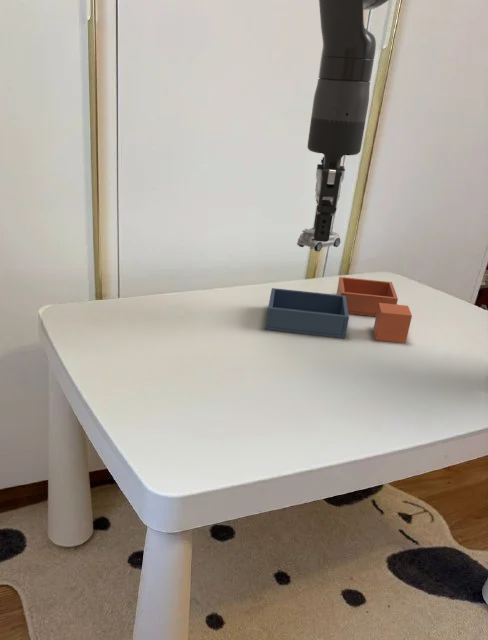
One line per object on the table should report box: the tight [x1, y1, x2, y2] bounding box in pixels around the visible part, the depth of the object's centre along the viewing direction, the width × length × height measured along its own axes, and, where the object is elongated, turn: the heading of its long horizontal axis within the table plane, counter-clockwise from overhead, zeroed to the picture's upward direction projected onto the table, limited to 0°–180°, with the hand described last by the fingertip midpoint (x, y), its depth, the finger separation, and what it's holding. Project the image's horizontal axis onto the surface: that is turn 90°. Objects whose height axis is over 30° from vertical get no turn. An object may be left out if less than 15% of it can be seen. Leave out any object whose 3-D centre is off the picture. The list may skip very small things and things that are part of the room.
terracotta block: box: [372, 303, 413, 344], centre depth 98 cm, size 4×4×4 cm
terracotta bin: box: [335, 276, 399, 318], centre depth 109 cm, size 9×9×4 cm
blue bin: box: [265, 287, 350, 339], centre depth 101 cm, size 12×10×4 cm
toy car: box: [296, 226, 341, 253], centre depth 97 cm, size 4×8×3 cm, turn 133°
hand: (320, 234), depth 96 cm, fingers closed on toy car, 7 cm apart
